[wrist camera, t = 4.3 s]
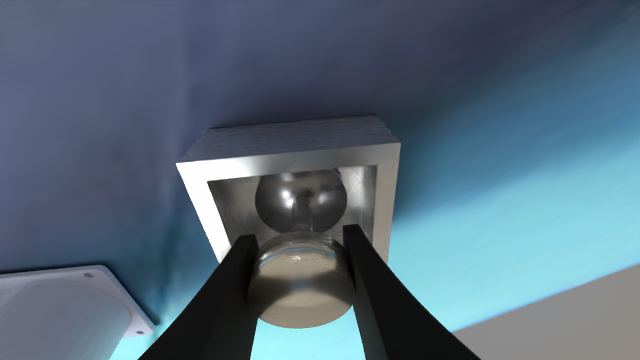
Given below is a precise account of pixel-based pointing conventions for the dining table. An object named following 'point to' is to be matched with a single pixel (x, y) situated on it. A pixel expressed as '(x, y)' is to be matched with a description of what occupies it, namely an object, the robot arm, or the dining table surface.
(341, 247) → the metal door knob
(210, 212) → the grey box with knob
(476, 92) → the dining table surface
